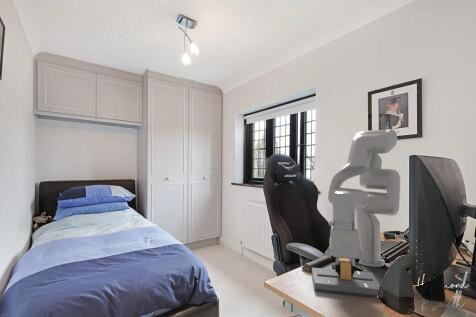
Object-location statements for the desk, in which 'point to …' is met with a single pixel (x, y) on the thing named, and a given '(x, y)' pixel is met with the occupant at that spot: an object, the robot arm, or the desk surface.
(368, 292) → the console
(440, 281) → the portable radio
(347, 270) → the fader tab
